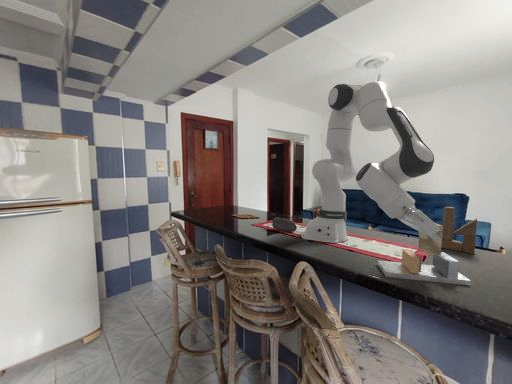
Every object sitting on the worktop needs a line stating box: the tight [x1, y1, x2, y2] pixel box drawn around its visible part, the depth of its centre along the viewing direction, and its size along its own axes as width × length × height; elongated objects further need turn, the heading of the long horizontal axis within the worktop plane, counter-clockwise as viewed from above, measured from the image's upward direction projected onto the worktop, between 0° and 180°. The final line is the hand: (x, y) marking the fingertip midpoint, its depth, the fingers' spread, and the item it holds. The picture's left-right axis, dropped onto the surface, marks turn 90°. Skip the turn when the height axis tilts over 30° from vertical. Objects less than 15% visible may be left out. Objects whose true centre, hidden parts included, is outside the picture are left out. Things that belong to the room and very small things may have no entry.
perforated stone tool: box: [271, 216, 298, 233], centre depth 128 cm, size 15×5×7 cm, turn 50°
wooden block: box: [441, 206, 478, 255], centre depth 96 cm, size 4×11×18 cm, turn 44°
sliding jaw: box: [401, 248, 423, 273], centre depth 73 cm, size 3×8×5 cm, turn 166°
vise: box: [377, 251, 472, 286], centre depth 73 cm, size 22×10×6 cm, turn 76°
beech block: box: [417, 222, 443, 256], centre depth 72 cm, size 4×5×9 cm
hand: (431, 237), depth 71 cm, fingers closed on beech block, 5 cm apart
